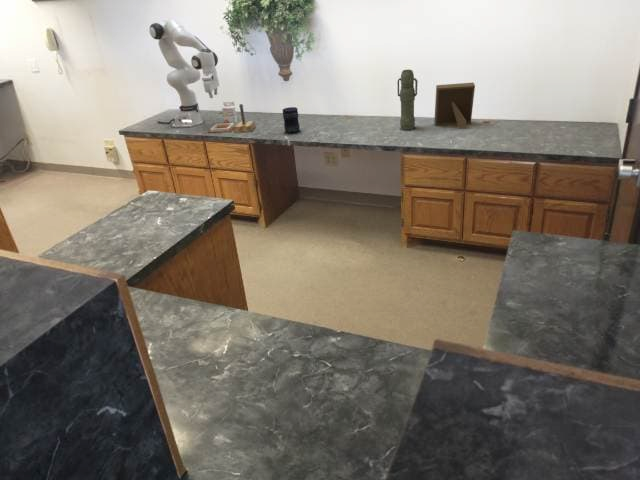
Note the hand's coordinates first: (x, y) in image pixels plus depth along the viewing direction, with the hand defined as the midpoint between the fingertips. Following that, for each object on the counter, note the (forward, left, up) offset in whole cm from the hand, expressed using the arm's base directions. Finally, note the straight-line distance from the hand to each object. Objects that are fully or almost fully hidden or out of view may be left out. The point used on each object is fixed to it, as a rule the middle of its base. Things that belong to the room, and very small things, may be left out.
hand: (213, 96), depth 343 cm
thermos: (+128, -23, -23) cm, 132 cm away
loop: (+2, -1, -22) cm, 22 cm away
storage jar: (+54, -17, -23) cm, 61 cm away
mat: (+2, -1, -23) cm, 23 cm away
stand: (+19, -5, -23) cm, 30 cm away
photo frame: (+156, -23, -23) cm, 159 cm away
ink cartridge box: (+4, +14, -23) cm, 27 cm away
